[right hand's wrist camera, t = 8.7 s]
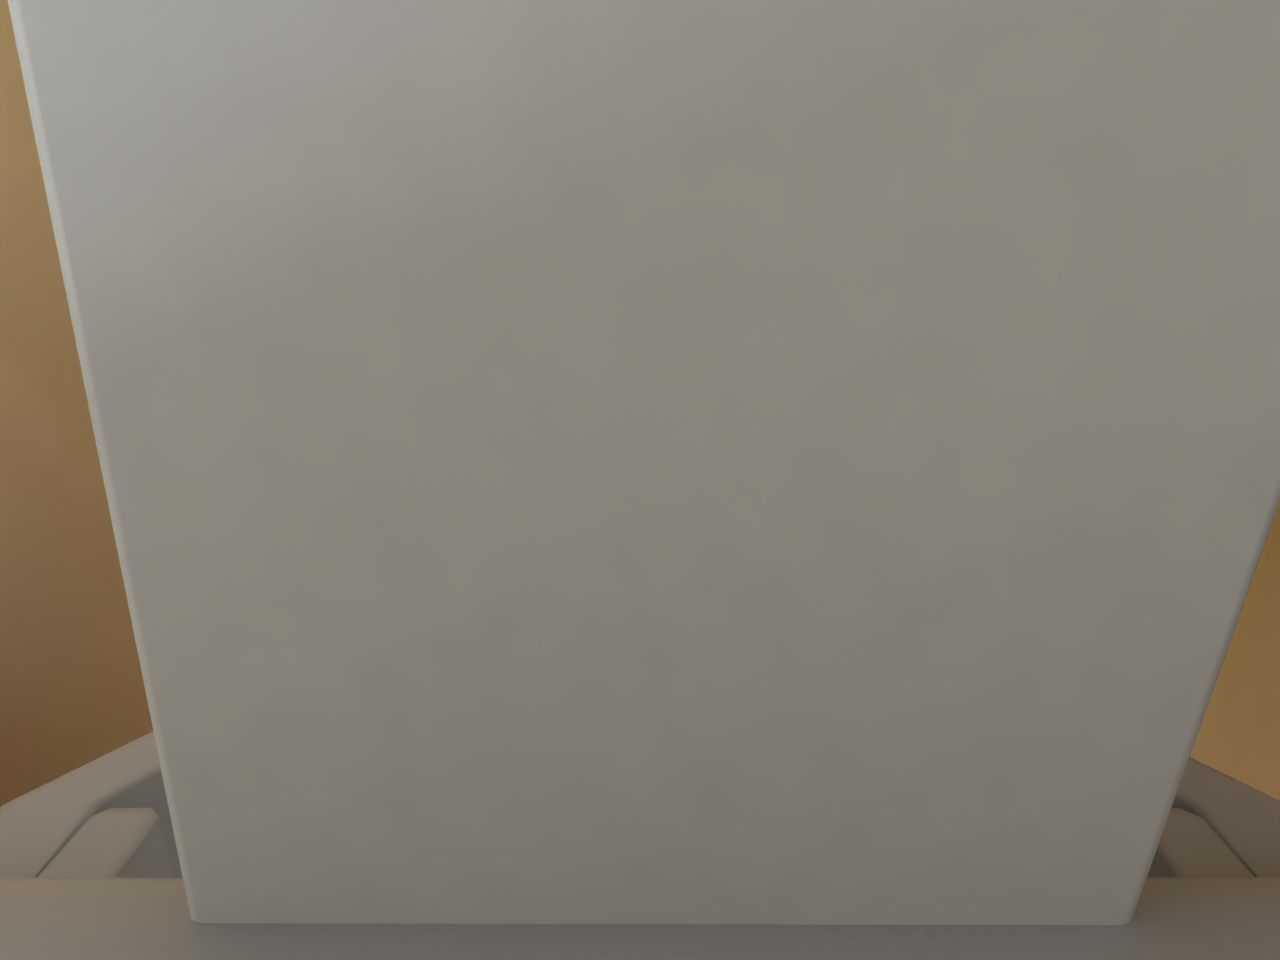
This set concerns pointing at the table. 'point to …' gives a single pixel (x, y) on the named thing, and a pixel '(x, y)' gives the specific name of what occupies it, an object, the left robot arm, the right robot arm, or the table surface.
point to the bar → (672, 440)
